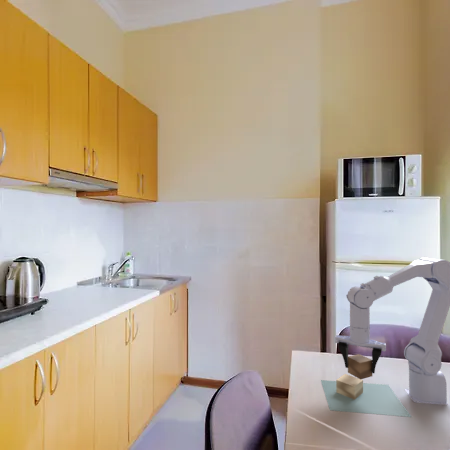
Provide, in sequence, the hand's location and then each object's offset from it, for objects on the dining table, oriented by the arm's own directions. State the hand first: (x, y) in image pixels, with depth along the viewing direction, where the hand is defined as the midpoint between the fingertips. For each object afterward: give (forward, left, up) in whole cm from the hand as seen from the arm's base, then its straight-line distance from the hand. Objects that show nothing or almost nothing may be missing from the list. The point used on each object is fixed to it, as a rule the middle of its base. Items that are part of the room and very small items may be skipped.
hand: (359, 369), depth 97 cm
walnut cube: (0, 0, -2) cm, 2 cm away
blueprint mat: (0, 0, -9) cm, 9 cm away
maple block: (+3, -2, -9) cm, 9 cm away
